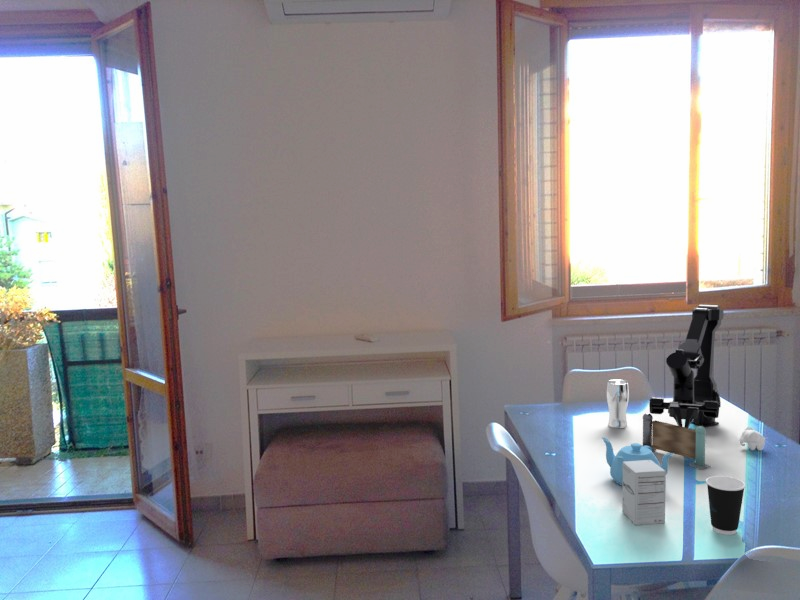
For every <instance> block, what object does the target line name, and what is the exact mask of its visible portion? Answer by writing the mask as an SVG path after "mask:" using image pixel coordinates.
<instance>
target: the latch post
mask: <svg viewBox="0 0 800 600" xmlns="http://www.w3.org/2000/svg"><path fill="white" fill-rule="evenodd" d="M694 430H695V431H696V451H695V459H694V460H695V462H691V463H689V464H688V466H690V467H692V468H695V469H698V470H700V471H702V470H706V469H710V468H712V465H710V464H707V463H706V432H707V431H706V427H704V426H701V425H698V426H697V427H696V428H695V429H694Z"/></svg>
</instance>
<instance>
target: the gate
mask: <svg viewBox="0 0 800 600" xmlns="http://www.w3.org/2000/svg"><path fill="white" fill-rule="evenodd" d="M695 430H696V429H694V428H685V427H684V426H682V427H681V426H678V425H677V424H673V423H668V422H664V421H659V420H652V448H654V449H656V450H658V451H663V452H666V453H668V454H669V453H674V454H673V455H677V456H680V457H684V458H688V459H692V460H695V451H696V431H695Z"/></svg>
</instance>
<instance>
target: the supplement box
mask: <svg viewBox="0 0 800 600" xmlns="http://www.w3.org/2000/svg"><path fill="white" fill-rule="evenodd" d="M660 466H661V465H660ZM660 466H659V465H657V464H656V463H654V462H653V461H652V460H639V461H625V462H623V486H622V488H621V489H622V494H621V495H622V502H621V504H622V505H621V508H622V509H621V510H622V511H621V512H622V513H623V514H624V515H625V516H626V517H628V519H629V520H630V521H631V522H632V523H633V524H634V525H635V526H646V525H647V526H648V525H657V524H666V487H667V486H666V483H667V482H666V478H667V477H666V475H667V474H666V471H665V470H664V469H662V468H661V467H660Z"/></svg>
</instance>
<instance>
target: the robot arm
mask: <svg viewBox="0 0 800 600" xmlns="http://www.w3.org/2000/svg"><path fill="white" fill-rule="evenodd" d="M691 314H692V315H691V316H692V318H691V321H690V323H689V324H690V325H689V327H688V332H687V334H686V338H685V340H684V341H683V342H682V343H681V344H679V345H678V347H677V349H675V352H673V353H671V354H669V355H668V356H667V357H666V360H665V362H666V365H667V368H668V369H669V372H670V374H671V376H672V377H673V384H672V385H673V387H672V388H673V389H672V390H673V391H672V396H673V398H672V401H669V402H665V398H664V397H656V396H651V397H650V398H649V404H648V405H649V407H648V408H649V414H651V415H662V414H663V413H664V412H665V410H667V413H668V415H669V417H671V418H673V419H674V421H675V422H676V425H677V426H681V427H685V428H689V427H690V425H691V423H692V424H694V423H695V425H698V426H702V427H704V428H707V427H710V426H716V425H719V424H720V422H718V421H716V419H717V418H719V414H720V413H719V412H720V408H721V407H722V406H721V404H722V403H721V397H720V393H719V391H718V389H717V387H718V386H717V385H718V384H717V382H716V381H715V379H714V377H713V366H714V365H713V364H714V350H715V336H716V332H717V330H718V329H719V328H720V326H721V325H722V320H723V319H724V315H725V313H724V309H723V308H721V306H720V305H718V304H717V305H716V304H714V305H713V304H699V305H698V306H697V307H692V313H691ZM693 370H697V371H696V375H695V373H694V371H693ZM683 420H685V421H684V426H683Z"/></svg>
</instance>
